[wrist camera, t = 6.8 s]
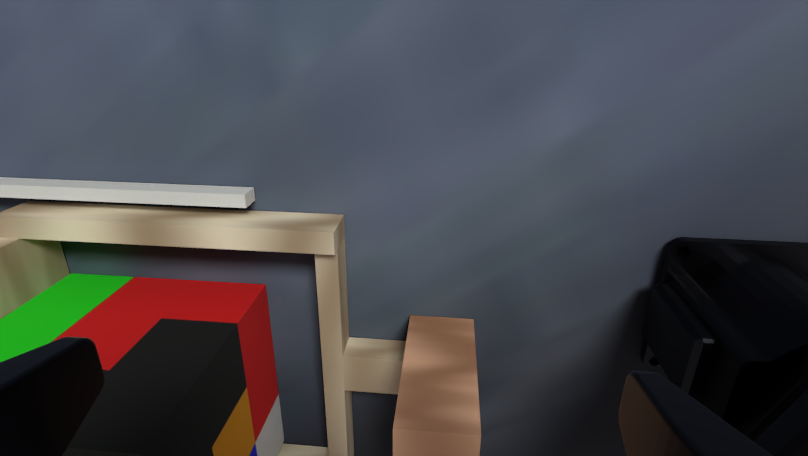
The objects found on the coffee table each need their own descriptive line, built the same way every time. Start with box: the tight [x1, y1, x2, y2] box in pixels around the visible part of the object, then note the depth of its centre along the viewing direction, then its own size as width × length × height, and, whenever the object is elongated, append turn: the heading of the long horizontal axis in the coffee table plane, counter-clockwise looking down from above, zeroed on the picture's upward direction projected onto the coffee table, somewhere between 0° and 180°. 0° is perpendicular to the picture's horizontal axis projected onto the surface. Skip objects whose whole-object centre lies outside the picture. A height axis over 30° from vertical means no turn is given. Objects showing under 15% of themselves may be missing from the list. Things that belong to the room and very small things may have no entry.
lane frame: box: [0, 177, 255, 208], centre depth 26 cm, size 19×24×1 cm
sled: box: [0, 201, 481, 456], centre depth 21 cm, size 21×15×7 cm
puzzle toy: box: [0, 273, 284, 456], centre depth 21 cm, size 10×10×10 cm
